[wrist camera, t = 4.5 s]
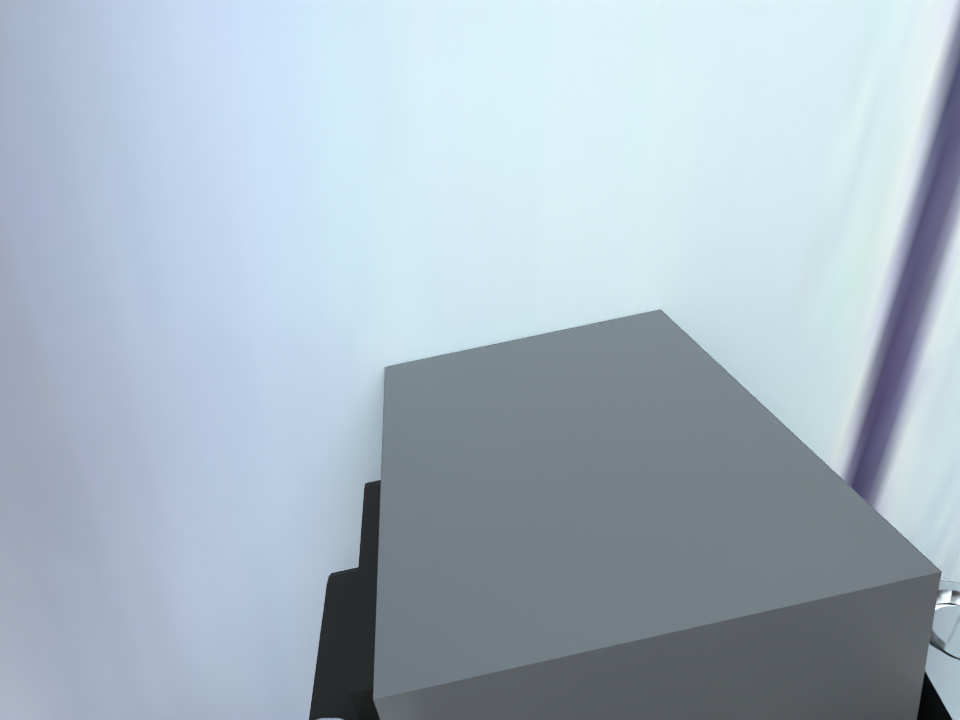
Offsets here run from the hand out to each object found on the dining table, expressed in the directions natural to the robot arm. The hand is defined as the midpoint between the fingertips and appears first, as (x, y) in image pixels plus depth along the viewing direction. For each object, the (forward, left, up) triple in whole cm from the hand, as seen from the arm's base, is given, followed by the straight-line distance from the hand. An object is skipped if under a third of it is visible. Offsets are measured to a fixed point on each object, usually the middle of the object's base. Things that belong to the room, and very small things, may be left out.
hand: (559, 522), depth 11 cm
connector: (0, 0, -1) cm, 1 cm away
